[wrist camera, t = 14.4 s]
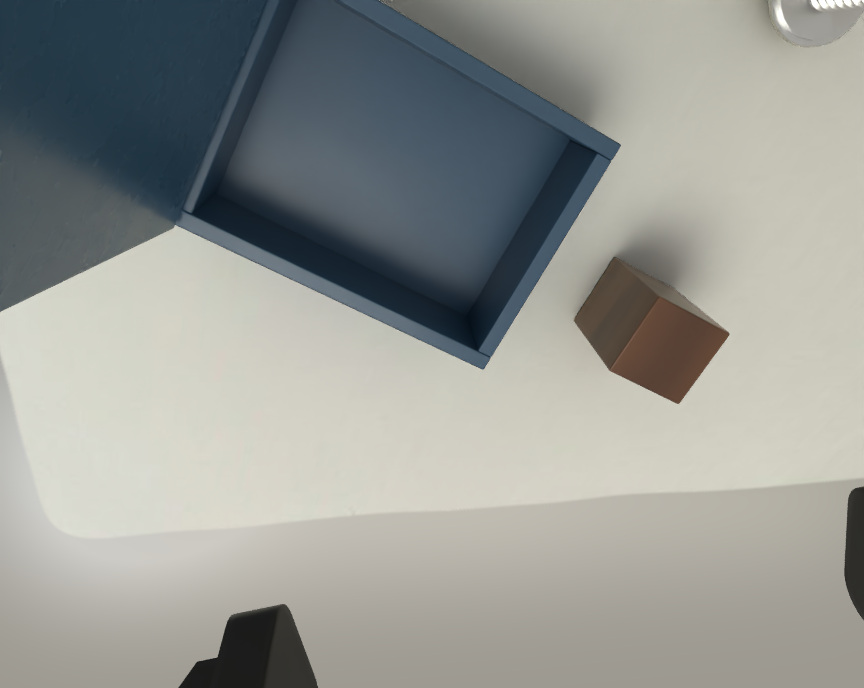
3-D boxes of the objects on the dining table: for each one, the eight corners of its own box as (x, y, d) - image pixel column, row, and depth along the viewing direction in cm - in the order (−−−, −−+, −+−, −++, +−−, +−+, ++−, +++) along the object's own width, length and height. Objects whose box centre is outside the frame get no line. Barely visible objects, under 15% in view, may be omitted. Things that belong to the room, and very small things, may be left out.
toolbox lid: (30, -284, 11) (-321, -495, 10) (-145, 383, 14) (-405, 266, 14) (288, -55, 27) (164, -128, 26) (173, 228, 31) (63, 171, 30)
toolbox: (586, 131, 37) (622, 145, 31) (470, 328, 41) (483, 370, 35) (297, -41, 33) (281, -58, 27) (199, 197, 37) (168, 221, 31)
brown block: (675, 289, 40) (730, 333, 34) (633, 350, 42) (679, 405, 35) (613, 256, 39) (659, 296, 33) (572, 320, 41) (608, 370, 34)
